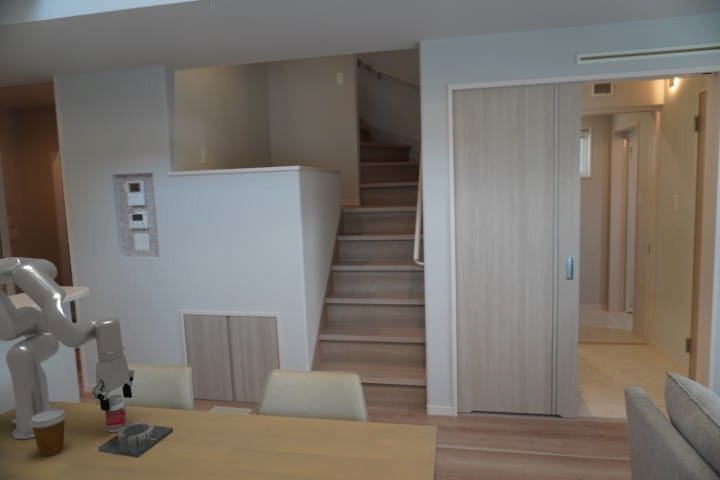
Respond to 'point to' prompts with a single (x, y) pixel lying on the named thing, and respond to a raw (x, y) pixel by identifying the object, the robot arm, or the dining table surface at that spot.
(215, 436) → the dining table surface
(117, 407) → the pill bottle
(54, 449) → the disposable coffee cup
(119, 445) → the socket plate
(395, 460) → the dining table surface
